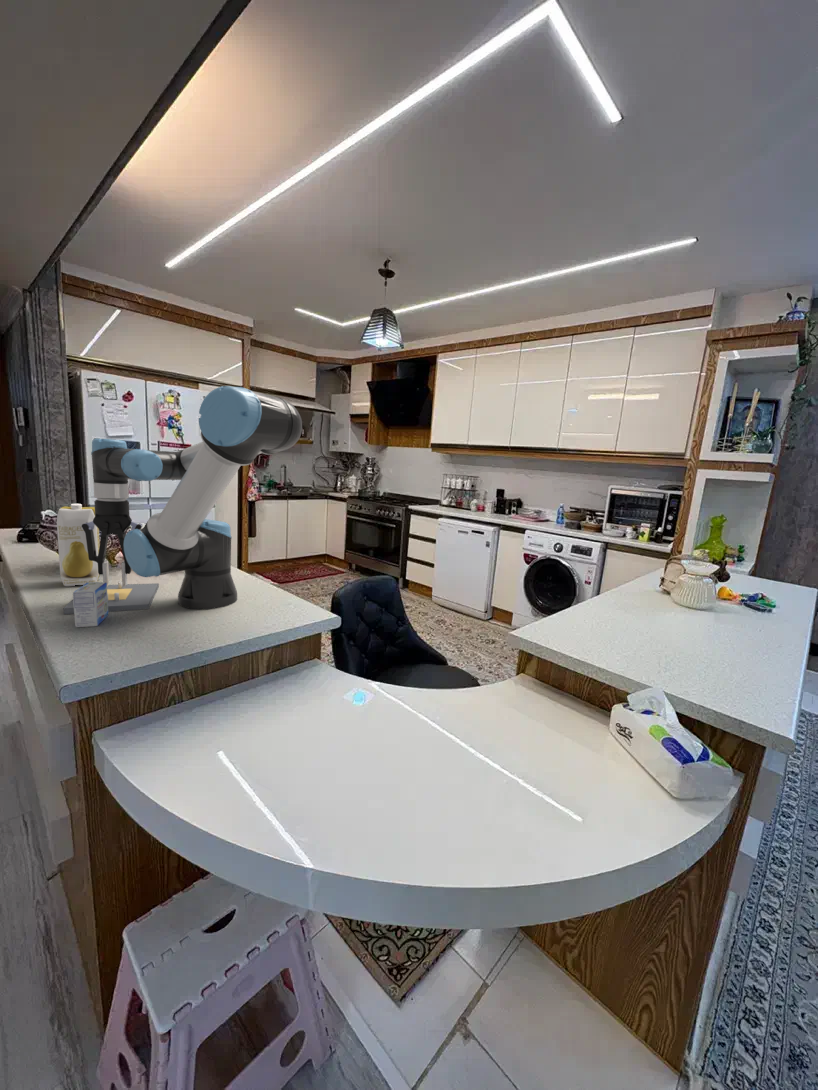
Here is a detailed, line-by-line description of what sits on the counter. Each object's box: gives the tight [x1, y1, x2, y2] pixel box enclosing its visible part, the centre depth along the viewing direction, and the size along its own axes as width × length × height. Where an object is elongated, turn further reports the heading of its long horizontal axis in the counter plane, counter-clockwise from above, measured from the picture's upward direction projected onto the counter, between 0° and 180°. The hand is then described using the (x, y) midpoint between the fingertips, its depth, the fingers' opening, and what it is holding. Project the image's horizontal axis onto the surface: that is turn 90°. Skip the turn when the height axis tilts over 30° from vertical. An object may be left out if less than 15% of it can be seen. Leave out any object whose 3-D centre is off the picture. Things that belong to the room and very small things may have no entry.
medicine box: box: [72, 581, 109, 628], centre depth 103 cm, size 8×4×9 cm, turn 18°
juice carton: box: [56, 503, 100, 587], centre depth 128 cm, size 9×8×24 cm
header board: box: [63, 580, 160, 615], centre depth 119 cm, size 18×20×4 cm
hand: (115, 585), depth 118 cm, fingers open, 3 cm apart
